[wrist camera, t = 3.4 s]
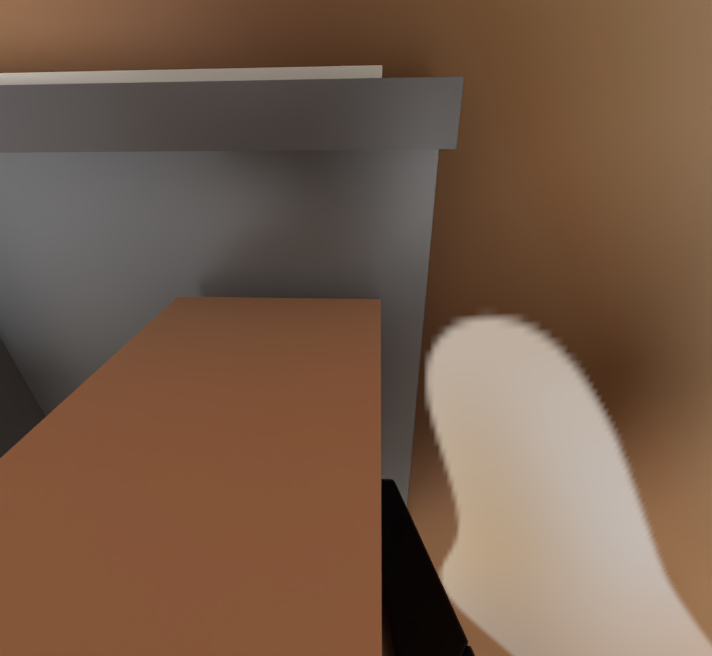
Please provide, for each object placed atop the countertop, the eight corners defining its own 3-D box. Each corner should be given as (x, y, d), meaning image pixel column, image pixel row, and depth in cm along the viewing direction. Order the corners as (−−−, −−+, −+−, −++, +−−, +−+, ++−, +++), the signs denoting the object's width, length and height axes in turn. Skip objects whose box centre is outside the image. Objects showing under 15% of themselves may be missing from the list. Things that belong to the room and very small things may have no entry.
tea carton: (380, 299, 7) (382, 788, 2) (374, 560, 12) (370, 919, 6) (170, 296, 7) (-321, 728, 2) (244, 553, 12) (138, 895, 7)
